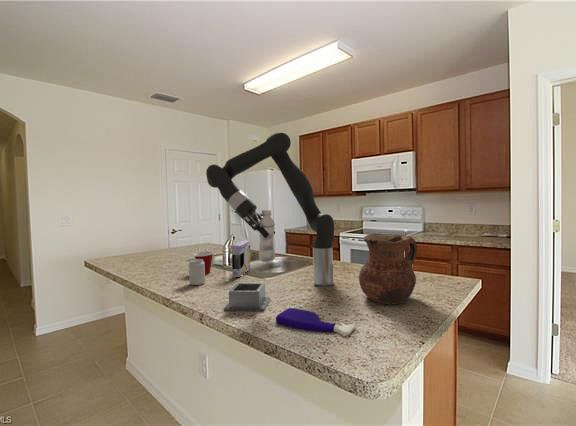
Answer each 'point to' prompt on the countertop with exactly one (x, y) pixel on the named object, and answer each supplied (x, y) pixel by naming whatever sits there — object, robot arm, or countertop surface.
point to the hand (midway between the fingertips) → (270, 235)
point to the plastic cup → (205, 259)
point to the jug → (388, 268)
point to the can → (197, 272)
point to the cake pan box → (240, 258)
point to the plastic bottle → (267, 243)
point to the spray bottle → (310, 322)
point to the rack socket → (247, 297)
